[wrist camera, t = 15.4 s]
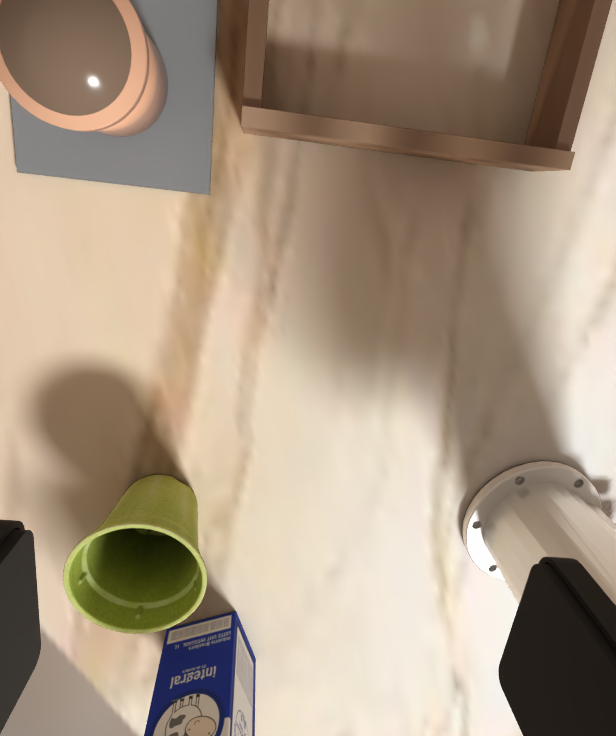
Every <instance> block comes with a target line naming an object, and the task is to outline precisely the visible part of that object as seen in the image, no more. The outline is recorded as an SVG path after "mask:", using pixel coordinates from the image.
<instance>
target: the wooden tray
mask: <svg viewBox="0 0 616 736" xmlns="http://www.w3.org/2000/svg"><path fill="white" fill-rule="evenodd" d="M611 3H612V0H560V3H559V7H558V11H557V15H556V19H555V23H554V27H553V32H552V36H551V40H550V44H549V48H548V52H547V56H546V60H545V64H544V68H543V72H542V77H541V81H540V85H539V89H538V93H537V97H536V101H535V105H534V109H533V113H532V117H531V122H530V126H529V130H528V134H527V138H526V142H525V145H520V144H513V143H506V142H499V141H492V140H484V139H477V138H470V137H463V136H456V135H449V134H442V133H434V132H427V131H420V130H413V129H406V128H399V127H391V126H384V125H377V124H370V123H363V122H356V121H348V120H341V119H334V118H327V117H320V116H313V115H306V114H298V113H291V112H284V111H277V110H270V109H263V108H261V105H262V91H263V77H264V63H265V49H266V35H267V21H268V7H269V0H249V8H248V25H247V42H246V59H245V75H244V92H243V106H242V119H241V127H242V129H243V132H244V133H247V134H255V135H262V136H270V137H277V138H285V139H292V140H300V141H307V142H315V143H322V144H330V145H337V146H345V147H352V148H360V149H367V150H375V151H383V152H390V153H398V154H405V155H413V156H420V157H428V158H435V159H443V160H450V161H458V162H465V163H473V164H480V165H488V166H495V167H503V168H510V169H518V170H525V171H555V170H570V169H571V165H572V161H573V158H574V154H575V152H571V148H572V144H573V141H574V137H575V133H576V130H577V126H578V122H579V119H580V115H581V112H582V108H583V104H584V101H585V97H586V93H587V90H588V86H589V83H590V79H591V75H592V72H593V68H594V64H595V61H596V57H597V53H598V50H599V46H600V43H601V39H602V35H603V32H604V28H605V24H606V21H607V17H608V14H609V10H610V6H611Z"/></svg>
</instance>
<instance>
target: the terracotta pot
mask: <svg viewBox="0 0 616 736" xmlns="http://www.w3.org/2000/svg"><path fill="white" fill-rule="evenodd" d="M0 81H1V82H2V84H3V85H4V87H5V88H6V89H7V91H8V92H9V93H10V94H11V96H12V97H13V98H14V99H15V100H16V101H17V102H18V103H19V104H20V105H21V106H22V107H23V108H25V109H26V110H27V111H29V112H30V113H31V114H33V115H34V116H36V117H38V118H39V119H41V120H43V121H45V122H47V123H49V124H52V125H55V126H58V127H61V128H65V129H69V130H74V131H81V132H91V131H96V132H100V133H103V134H106V135H110V136H115V137H127V136H133V135H136V134H139V133H141V132H143V131H145V130H147V129H148V128H149V127H150V126H152V125H153V124H154V123H155V122H156V121H157V119H158V118H159V116H160V115H161V113H162V111H163V109H164V106H165V103H166V100H167V95H168V76H167V70H166V67H165V63H164V61H163V58H162V56H161V54H160V52H159V50H158V48H157V47H156V45H155V44H154V42H153V41H152V40H151V38H150V37H149V36H148V34H147V33H146V32H145V31H144V28H143V25H142V23H141V20H140V18H139V16H138V14H137V12H136V10H135V9H134V7H133V5H132V4H131V2H130V1H129V0H0Z"/></svg>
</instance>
